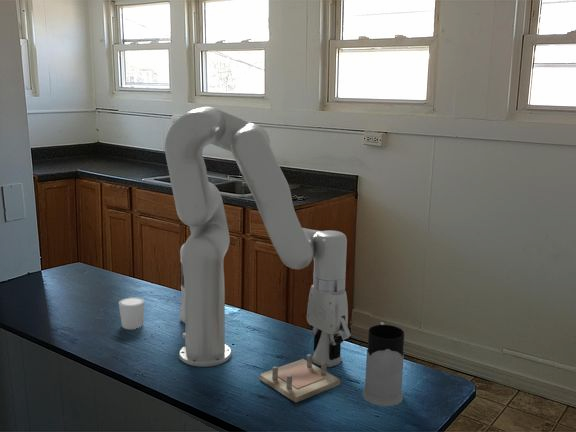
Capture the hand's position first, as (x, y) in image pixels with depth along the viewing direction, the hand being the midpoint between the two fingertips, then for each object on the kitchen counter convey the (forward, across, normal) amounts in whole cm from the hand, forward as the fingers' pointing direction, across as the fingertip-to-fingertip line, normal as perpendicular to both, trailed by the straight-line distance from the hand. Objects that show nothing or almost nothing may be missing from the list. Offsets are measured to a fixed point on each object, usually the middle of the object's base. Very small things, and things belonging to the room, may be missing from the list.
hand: (326, 353), depth 149 cm
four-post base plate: (+2, +4, -12) cm, 13 cm away
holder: (+2, +18, 0) cm, 18 cm away
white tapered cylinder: (+2, -48, -28) cm, 56 cm away
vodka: (+2, -41, -12) cm, 43 cm away
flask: (+2, 0, 0) cm, 2 cm away
